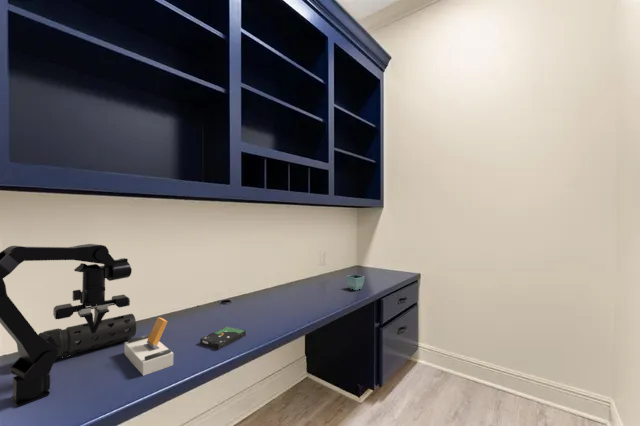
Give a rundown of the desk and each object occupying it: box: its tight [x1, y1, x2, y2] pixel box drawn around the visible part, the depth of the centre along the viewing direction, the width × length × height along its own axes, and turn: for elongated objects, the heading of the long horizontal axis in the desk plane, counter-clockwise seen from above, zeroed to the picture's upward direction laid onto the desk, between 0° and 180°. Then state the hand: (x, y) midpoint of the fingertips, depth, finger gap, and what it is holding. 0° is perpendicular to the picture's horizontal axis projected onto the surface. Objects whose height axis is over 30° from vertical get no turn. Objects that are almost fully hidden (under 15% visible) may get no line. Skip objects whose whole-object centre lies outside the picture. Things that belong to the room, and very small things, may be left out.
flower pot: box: [346, 274, 365, 291], centre depth 200 cm, size 9×9×9 cm
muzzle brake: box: [42, 313, 137, 359], centre depth 108 cm, size 10×28×10 cm, turn 139°
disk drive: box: [199, 325, 247, 351], centre depth 119 cm, size 10×3×15 cm
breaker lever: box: [147, 317, 169, 349], centre depth 104 cm, size 2×6×9 cm, turn 48°
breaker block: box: [123, 333, 174, 376], centre depth 102 cm, size 9×20×5 cm, turn 47°
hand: (93, 332), depth 95 cm, fingers closed
